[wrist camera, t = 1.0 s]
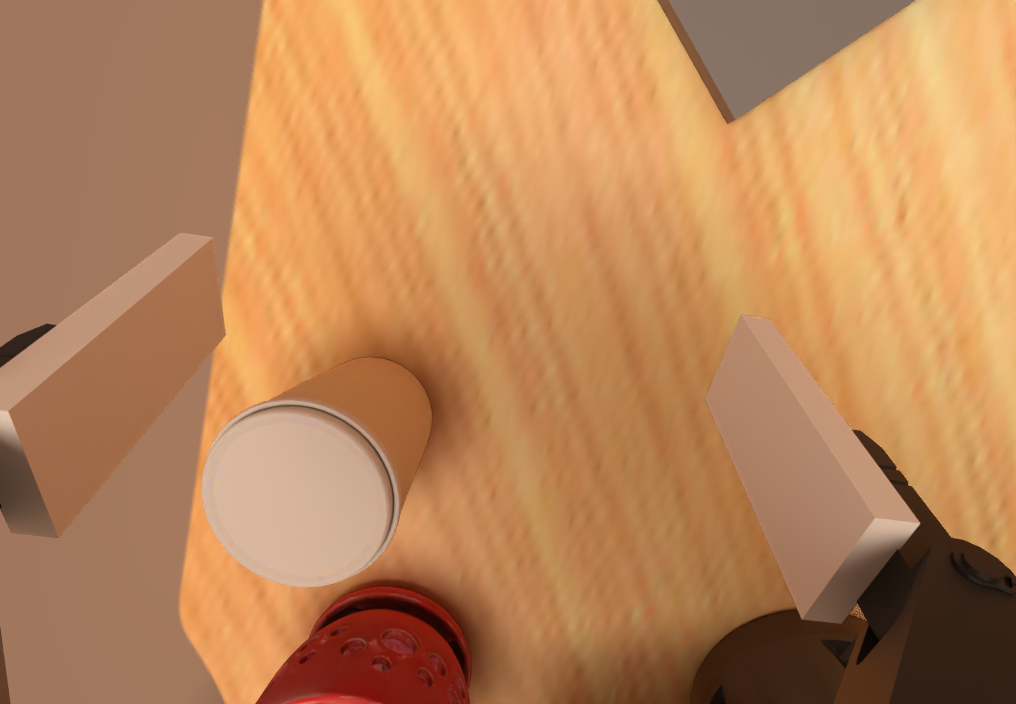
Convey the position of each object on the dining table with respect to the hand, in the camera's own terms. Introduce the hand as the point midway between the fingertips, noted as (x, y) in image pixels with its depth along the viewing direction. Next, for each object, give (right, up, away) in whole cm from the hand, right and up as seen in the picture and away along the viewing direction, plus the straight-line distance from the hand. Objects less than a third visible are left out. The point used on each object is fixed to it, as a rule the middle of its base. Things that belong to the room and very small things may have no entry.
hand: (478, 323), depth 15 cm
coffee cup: (-8, -5, +23) cm, 25 cm away
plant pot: (-7, -22, +27) cm, 36 cm away
